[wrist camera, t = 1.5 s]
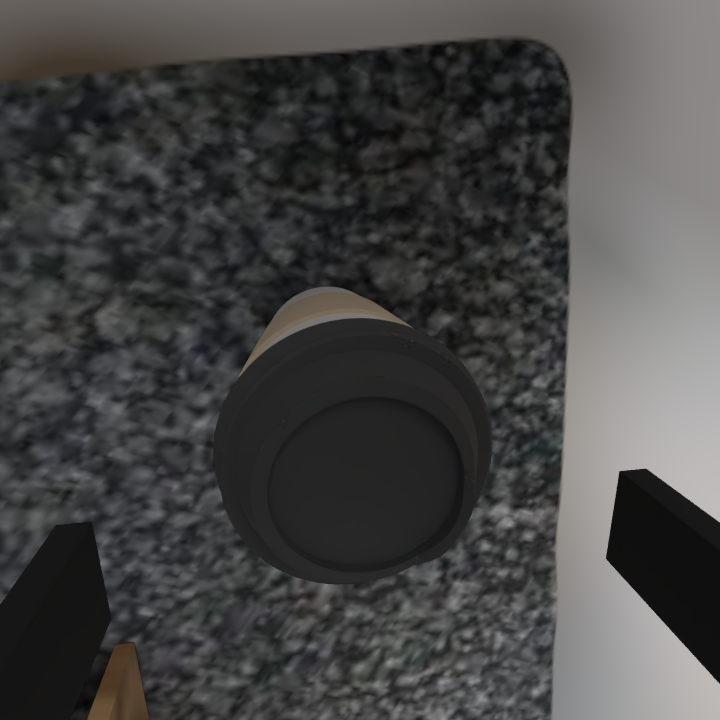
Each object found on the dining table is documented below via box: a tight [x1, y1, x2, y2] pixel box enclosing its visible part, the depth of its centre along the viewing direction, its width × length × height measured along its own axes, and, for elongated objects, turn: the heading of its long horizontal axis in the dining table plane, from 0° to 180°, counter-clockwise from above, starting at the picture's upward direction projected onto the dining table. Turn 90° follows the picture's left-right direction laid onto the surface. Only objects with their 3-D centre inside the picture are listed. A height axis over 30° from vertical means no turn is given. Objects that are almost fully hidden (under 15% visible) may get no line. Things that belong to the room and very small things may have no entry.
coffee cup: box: [213, 287, 492, 584], centre depth 21 cm, size 9×9×15 cm
